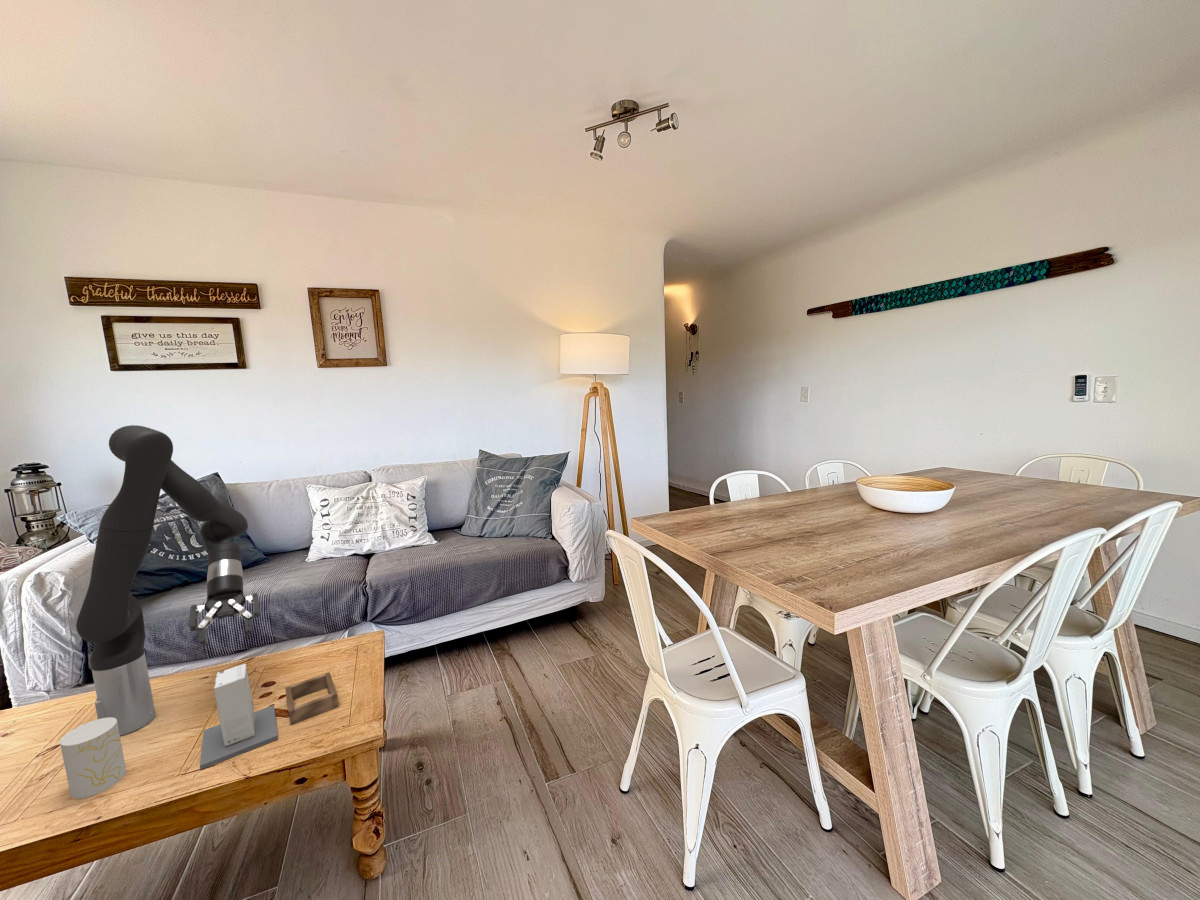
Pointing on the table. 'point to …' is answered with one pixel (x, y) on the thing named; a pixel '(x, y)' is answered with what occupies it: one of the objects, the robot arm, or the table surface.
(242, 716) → the skincare box
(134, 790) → the table surface
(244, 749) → the charcoal mat
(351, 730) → the table surface
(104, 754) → the grey patterned cylinder
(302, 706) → the walnut collar
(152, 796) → the table surface
